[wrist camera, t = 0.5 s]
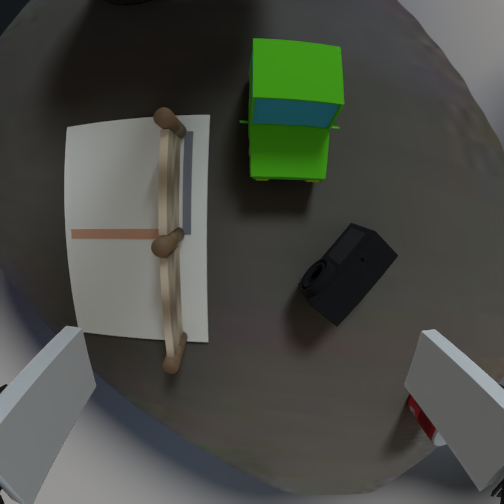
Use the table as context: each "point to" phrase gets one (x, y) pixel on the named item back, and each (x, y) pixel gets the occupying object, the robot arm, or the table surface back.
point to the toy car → (292, 108)
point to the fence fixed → (168, 182)
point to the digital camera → (346, 272)
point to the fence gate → (172, 310)
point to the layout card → (133, 226)
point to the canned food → (425, 422)
